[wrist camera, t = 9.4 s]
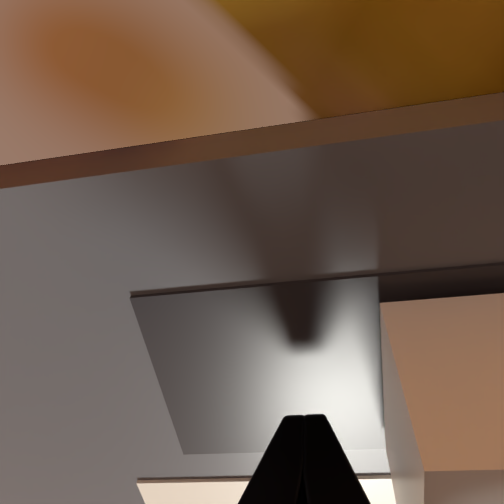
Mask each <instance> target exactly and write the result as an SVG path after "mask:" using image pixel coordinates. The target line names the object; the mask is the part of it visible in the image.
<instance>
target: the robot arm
mask: <svg viewBox="0 0 504 504" xmlns="http://www.w3.org/2000/svg"><path fill="white" fill-rule="evenodd" d="M238 504H371V503H370V501H369V499H368V497H367V495H366V493H365V491H364V489H363V487H362V486H361V484H360V482H359V480H358V478H357V476H356V474H355V472H354V470H353V468H352V466H351V464H350V462H349V460H348V458H347V456H346V454H345V452H344V450H343V448H342V446H341V444H340V442H339V441H338V439H337V437H336V435H335V433H334V431H333V429H332V427H331V425H330V423H329V421H328V419H327V417H326V416H325V415H324V414H307V415H305V416H304V415H287V416H285V417H284V418H283V419H282V421H281V422H280V424H279V426H278V428H277V430H276V432H275V434H274V436H273V438H272V439H271V441H270V443H269V445H268V447H267V449H266V451H265V453H264V455H263V457H262V458H261V460H260V462H259V464H258V466H257V468H256V470H255V472H254V474H253V475H252V477H251V479H250V481H249V483H248V485H247V487H246V489H245V491H244V492H243V494H242V496H241V498H240V500H239V502H238Z"/></svg>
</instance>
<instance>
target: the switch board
mask: <svg viewBox="0 0 504 504" xmlns="http://www.w3.org/2000/svg"><path fill="white" fill-rule="evenodd" d="M498 293H504V92H501V93H494V94H488V95H481V96H474V97H467V98H460V99H453V100H446V101H440V102H433V103H426V104H419V105H412V106H405V107H399V108H392V109H385V110H378V111H371V112H364V113H357V114H351V115H344V116H337V117H330V118H323V119H316V120H309V121H303V122H296V123H289V124H282V125H275V126H268V127H261V128H255V129H248V130H241V131H234V132H227V133H220V134H213V135H207V136H200V137H193V138H186V139H180V140H172V141H165V142H159V143H152V144H146V145H139V146H131V147H124V148H117V149H111V150H104V151H97V152H90V153H83V154H77V155H69V156H63V157H56V158H49V159H42V160H36V161H28V162H22V163H15V164H8V165H1V166H0V504H238V502H239V500H240V498H241V496H242V494H243V492H244V491H245V489H246V487H247V485H248V483H249V481H250V479H251V477H252V475H253V474H254V472H255V470H256V468H257V466H258V464H259V462H260V460H261V458H262V457H263V455H264V453H265V451H266V449H267V447H268V445H269V443H270V441H271V439H272V438H273V436H274V434H275V432H276V430H277V428H278V426H279V424H280V422H281V421H282V419H283V418H284V417H285V416H287V415H304V416H305V415H307V414H324V415H325V416H326V417H327V419H328V421H329V423H330V425H331V427H332V429H333V431H334V433H335V435H336V437H337V439H338V441H339V442H340V444H341V446H342V448H343V450H344V452H345V454H346V456H347V458H348V460H349V462H350V464H351V466H352V468H353V470H354V472H355V474H356V476H357V478H358V480H359V482H360V484H361V486H362V487H363V489H364V491H365V493H366V495H367V497H368V499H369V501H370V503H371V504H396V499H395V494H394V489H393V484H392V479H391V474H390V468H389V463H388V458H387V453H386V445H385V422H384V398H383V374H382V350H381V326H380V303H385V302H397V301H410V300H423V299H435V298H448V297H460V296H473V295H486V294H498Z"/></svg>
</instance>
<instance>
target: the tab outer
mask: <svg viewBox="0 0 504 504" xmlns="http://www.w3.org/2000/svg"><path fill="white" fill-rule="evenodd" d="M380 326H381V350H382V374H383V398H384V422H385V445H386V453H387V458H388V463H389V468H390V474H391V479H392V484H393V489H394V494H395V499H396V504H504V293H498V294H486V295H473V296H460V297H448V298H435V299H423V300H410V301H397V302H385V303H380Z"/></svg>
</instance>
